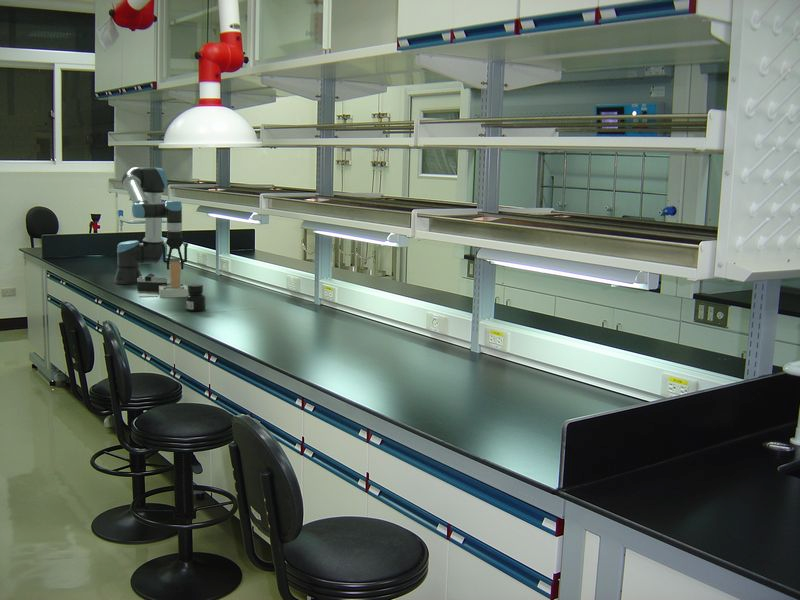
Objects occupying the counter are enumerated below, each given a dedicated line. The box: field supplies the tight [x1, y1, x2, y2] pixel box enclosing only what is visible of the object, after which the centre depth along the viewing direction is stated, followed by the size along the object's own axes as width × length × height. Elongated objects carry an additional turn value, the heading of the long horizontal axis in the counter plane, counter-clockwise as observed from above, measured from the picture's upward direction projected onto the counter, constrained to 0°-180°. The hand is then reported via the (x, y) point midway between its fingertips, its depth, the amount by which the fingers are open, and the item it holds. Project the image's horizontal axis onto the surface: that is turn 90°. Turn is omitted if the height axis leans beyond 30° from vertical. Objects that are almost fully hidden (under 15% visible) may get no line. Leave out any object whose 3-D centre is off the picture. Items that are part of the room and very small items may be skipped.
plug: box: [169, 257, 181, 286], centre depth 418 cm, size 5×5×14 cm
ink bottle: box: [185, 283, 206, 313], centre depth 378 cm, size 10×9×12 cm
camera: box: [136, 272, 168, 294], centre depth 427 cm, size 16×9×10 cm, turn 88°
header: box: [158, 283, 189, 298], centre depth 419 cm, size 14×14×5 cm
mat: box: [138, 292, 159, 298], centre depth 415 cm, size 9×9×1 cm
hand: (175, 275), depth 418 cm, fingers closed on plug, 4 cm apart
